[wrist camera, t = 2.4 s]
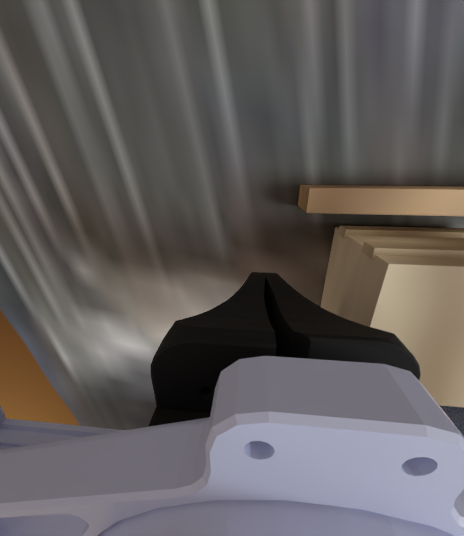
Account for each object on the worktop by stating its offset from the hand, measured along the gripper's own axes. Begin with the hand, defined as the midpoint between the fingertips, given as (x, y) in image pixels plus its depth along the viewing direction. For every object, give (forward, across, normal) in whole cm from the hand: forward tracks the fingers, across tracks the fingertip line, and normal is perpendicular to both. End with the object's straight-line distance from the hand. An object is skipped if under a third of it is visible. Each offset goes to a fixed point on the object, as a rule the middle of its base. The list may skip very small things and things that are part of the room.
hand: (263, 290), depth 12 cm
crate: (+2, -7, 0) cm, 7 cm away
